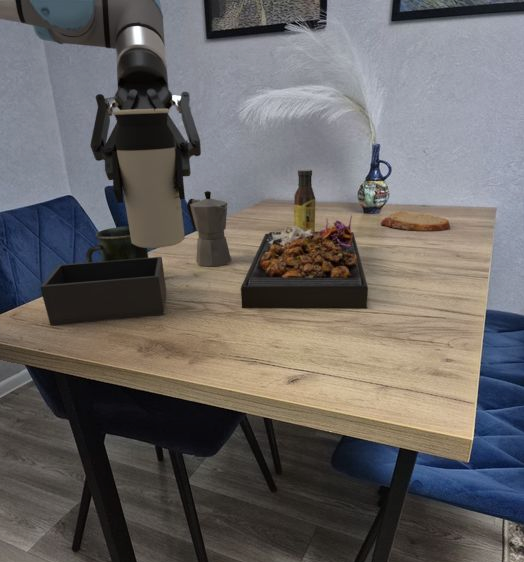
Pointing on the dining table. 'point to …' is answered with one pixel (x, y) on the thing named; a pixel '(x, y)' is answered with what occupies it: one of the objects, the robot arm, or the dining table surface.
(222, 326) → the dining table surface
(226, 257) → the coffeepot
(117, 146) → the travel mug
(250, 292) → the food platter
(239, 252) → the dining table surface
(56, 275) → the bin
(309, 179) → the sauce bottle
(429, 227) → the bread slice
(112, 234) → the mug
